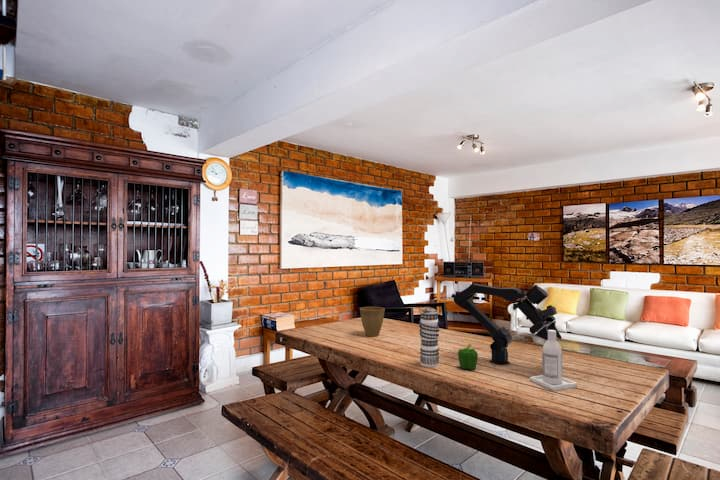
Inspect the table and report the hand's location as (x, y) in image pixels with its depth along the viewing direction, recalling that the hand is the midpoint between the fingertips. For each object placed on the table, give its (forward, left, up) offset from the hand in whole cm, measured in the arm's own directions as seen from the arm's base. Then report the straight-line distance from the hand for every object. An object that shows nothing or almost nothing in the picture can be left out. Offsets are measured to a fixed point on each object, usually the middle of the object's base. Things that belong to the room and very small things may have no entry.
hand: (558, 340), depth 167 cm
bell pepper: (-31, +19, -14) cm, 39 cm away
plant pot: (-48, +91, -14) cm, 104 cm away
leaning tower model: (-44, +30, -14) cm, 55 cm away
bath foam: (-12, -9, -13) cm, 20 cm away
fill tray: (-12, -9, -14) cm, 20 cm away
